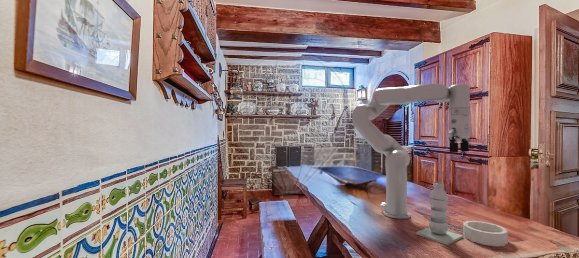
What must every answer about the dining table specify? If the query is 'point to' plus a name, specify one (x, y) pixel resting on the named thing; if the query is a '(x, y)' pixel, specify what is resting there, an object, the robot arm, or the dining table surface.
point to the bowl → (485, 233)
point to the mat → (440, 236)
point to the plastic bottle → (438, 209)
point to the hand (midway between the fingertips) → (459, 151)
